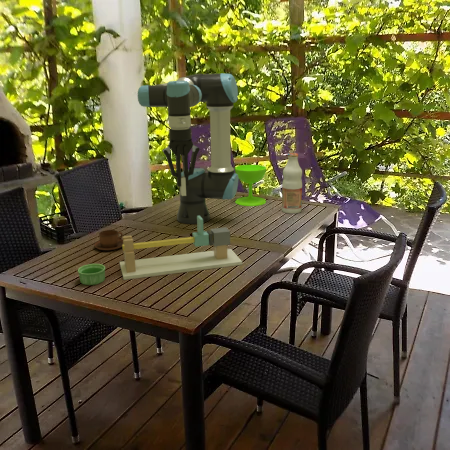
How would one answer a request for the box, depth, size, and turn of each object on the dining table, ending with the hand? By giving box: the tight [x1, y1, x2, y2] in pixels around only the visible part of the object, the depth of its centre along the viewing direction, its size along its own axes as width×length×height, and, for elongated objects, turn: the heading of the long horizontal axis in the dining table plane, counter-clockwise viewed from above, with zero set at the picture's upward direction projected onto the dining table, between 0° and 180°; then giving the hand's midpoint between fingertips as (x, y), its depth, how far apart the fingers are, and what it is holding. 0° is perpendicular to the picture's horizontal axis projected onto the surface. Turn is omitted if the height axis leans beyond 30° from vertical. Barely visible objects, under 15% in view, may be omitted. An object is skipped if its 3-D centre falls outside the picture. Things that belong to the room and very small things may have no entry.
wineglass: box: [234, 164, 267, 207], centre depth 261 cm, size 16×16×18 cm
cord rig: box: [119, 226, 243, 281], centre depth 181 cm, size 14×42×12 cm, turn 106°
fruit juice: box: [281, 152, 303, 215], centre depth 242 cm, size 9×9×28 cm
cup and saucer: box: [93, 229, 124, 251], centre depth 201 cm, size 12×12×6 cm
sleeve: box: [192, 216, 210, 248], centre depth 181 cm, size 5×5×10 cm
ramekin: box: [77, 263, 106, 286], centre depth 170 cm, size 9×9×4 cm
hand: (183, 194), depth 180 cm, fingers closed
